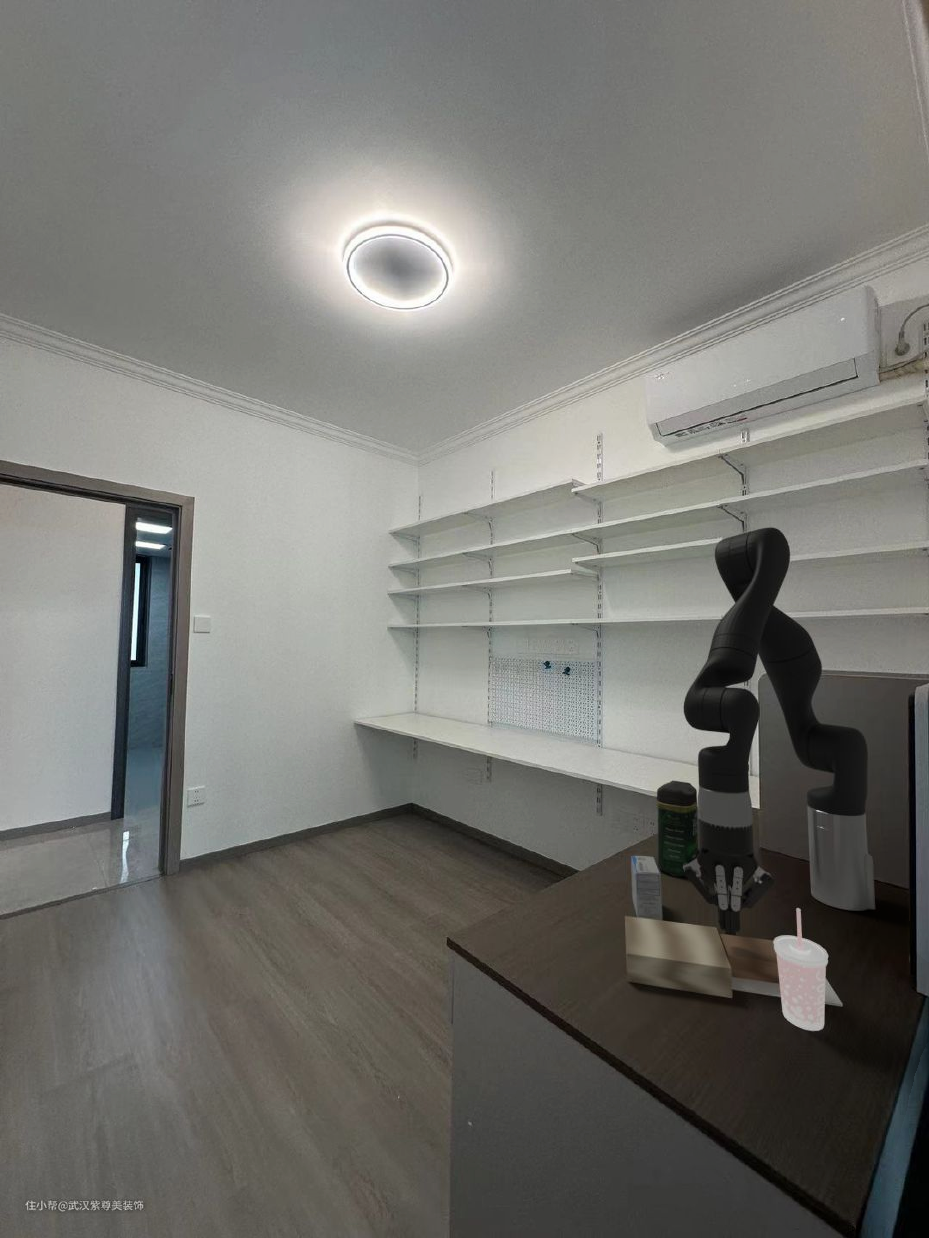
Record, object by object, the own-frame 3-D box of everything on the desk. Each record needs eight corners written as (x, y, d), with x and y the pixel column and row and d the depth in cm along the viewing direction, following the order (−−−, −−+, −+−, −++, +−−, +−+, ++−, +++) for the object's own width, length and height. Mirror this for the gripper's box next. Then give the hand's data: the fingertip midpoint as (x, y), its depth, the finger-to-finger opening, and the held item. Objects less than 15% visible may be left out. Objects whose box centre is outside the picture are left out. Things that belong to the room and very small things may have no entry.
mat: (817, 967, 79) (817, 965, 79) (842, 1006, 71) (842, 1004, 71) (717, 953, 83) (717, 951, 83) (729, 988, 74) (729, 986, 74)
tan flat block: (717, 953, 83) (716, 927, 83) (732, 998, 72) (731, 968, 73) (625, 940, 87) (624, 915, 87) (627, 981, 76) (626, 953, 76)
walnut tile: (784, 961, 80) (783, 941, 80) (798, 986, 74) (797, 964, 74) (720, 953, 83) (719, 933, 83) (729, 976, 77) (728, 955, 77)
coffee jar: (693, 881, 108) (690, 791, 109) (654, 872, 113) (651, 785, 114) (703, 865, 116) (700, 781, 117) (666, 857, 121) (663, 776, 122)
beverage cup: (804, 1039, 65) (799, 923, 66) (765, 1006, 71) (761, 900, 72) (843, 1030, 66) (838, 917, 67) (802, 998, 72) (797, 895, 73)
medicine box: (663, 923, 92) (661, 873, 92) (636, 921, 93) (635, 871, 93) (655, 902, 100) (654, 856, 100) (631, 900, 101) (630, 854, 101)
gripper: (766, 812, 82) (770, 925, 81) (676, 806, 86) (679, 914, 85) (780, 828, 75) (785, 952, 74) (681, 821, 78) (685, 939, 78)
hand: (729, 932), depth 79 cm, fingers closed
